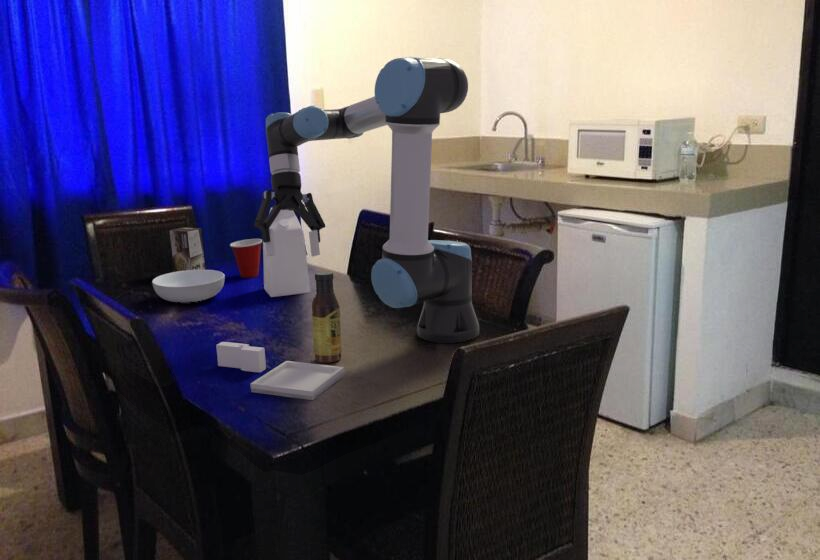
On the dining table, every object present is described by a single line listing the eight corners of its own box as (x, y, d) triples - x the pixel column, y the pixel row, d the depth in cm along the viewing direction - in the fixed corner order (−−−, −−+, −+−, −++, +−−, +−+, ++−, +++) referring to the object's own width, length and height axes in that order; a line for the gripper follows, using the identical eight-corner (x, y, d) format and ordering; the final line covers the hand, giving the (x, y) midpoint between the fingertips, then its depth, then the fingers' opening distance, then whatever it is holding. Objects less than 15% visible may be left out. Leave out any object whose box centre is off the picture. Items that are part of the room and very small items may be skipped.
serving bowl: (140, 307, 215) (137, 284, 213) (178, 289, 234) (176, 268, 233) (205, 310, 210) (202, 286, 208) (238, 291, 229) (236, 270, 228)
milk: (301, 284, 236) (296, 203, 230) (310, 292, 226) (304, 207, 220) (264, 288, 232) (257, 206, 226) (271, 297, 222) (264, 210, 216)
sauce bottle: (337, 364, 162) (332, 276, 158) (310, 363, 164) (304, 276, 159) (346, 355, 169) (341, 270, 164) (319, 353, 170) (314, 269, 165)
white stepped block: (206, 365, 166) (204, 341, 164) (255, 355, 171) (253, 332, 170) (227, 386, 153) (225, 360, 152) (279, 375, 159) (277, 349, 158)
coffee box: (206, 274, 254) (202, 228, 250) (192, 278, 249) (187, 231, 245) (188, 272, 259) (183, 226, 255) (173, 276, 254) (168, 229, 250)
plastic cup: (231, 274, 254) (228, 239, 251) (263, 271, 257) (260, 237, 254) (233, 281, 243) (230, 245, 241) (266, 278, 246) (264, 242, 244)
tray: (344, 375, 156) (344, 367, 156) (312, 400, 143) (312, 391, 143) (286, 368, 161) (286, 360, 161) (251, 392, 148) (250, 383, 148)
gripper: (316, 181, 201) (324, 257, 199) (235, 174, 184) (243, 258, 182) (332, 174, 196) (341, 253, 194) (250, 166, 179) (259, 252, 177)
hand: (294, 255), depth 188 cm, fingers open, 13 cm apart
